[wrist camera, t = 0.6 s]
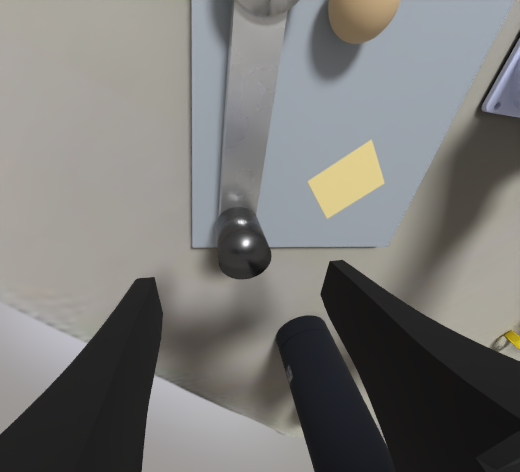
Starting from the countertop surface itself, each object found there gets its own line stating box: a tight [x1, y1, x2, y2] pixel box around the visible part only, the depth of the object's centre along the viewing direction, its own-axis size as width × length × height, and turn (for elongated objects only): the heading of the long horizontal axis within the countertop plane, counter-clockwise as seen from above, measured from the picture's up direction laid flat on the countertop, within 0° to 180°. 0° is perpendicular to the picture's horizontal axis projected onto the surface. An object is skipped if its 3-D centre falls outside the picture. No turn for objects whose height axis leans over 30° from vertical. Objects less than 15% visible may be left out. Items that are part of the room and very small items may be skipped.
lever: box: [215, 0, 299, 279], centre depth 12 cm, size 16×4×5 cm, turn 172°
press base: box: [192, 0, 514, 248], centre depth 15 cm, size 18×20×4 cm
